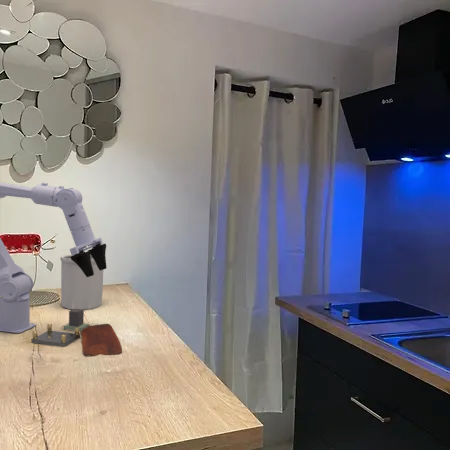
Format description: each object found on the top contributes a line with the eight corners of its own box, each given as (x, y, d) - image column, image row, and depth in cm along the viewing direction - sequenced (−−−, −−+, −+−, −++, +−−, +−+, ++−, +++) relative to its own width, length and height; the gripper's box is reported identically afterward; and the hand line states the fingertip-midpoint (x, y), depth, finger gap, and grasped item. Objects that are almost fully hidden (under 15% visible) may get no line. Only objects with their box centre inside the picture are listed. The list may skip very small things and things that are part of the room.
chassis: (31, 342, 128) (31, 331, 128) (48, 333, 136) (48, 323, 135) (64, 346, 125) (64, 335, 125) (80, 337, 133) (80, 327, 133)
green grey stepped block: (63, 329, 140) (63, 311, 140) (71, 325, 144) (71, 307, 143) (81, 331, 139) (81, 313, 138) (88, 327, 142) (88, 309, 142)
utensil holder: (86, 297, 178) (86, 251, 176) (112, 304, 169) (113, 256, 167) (51, 305, 166) (51, 255, 164) (78, 313, 157) (78, 261, 155)
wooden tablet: (123, 356, 122) (123, 350, 122) (83, 360, 119) (83, 353, 119) (113, 325, 147) (113, 320, 147) (80, 327, 144) (80, 322, 144)
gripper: (78, 228, 128) (96, 275, 129) (104, 220, 142) (119, 263, 143) (57, 236, 130) (74, 282, 131) (84, 227, 143) (100, 269, 144)
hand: (97, 272), depth 137 cm, fingers open, 7 cm apart
